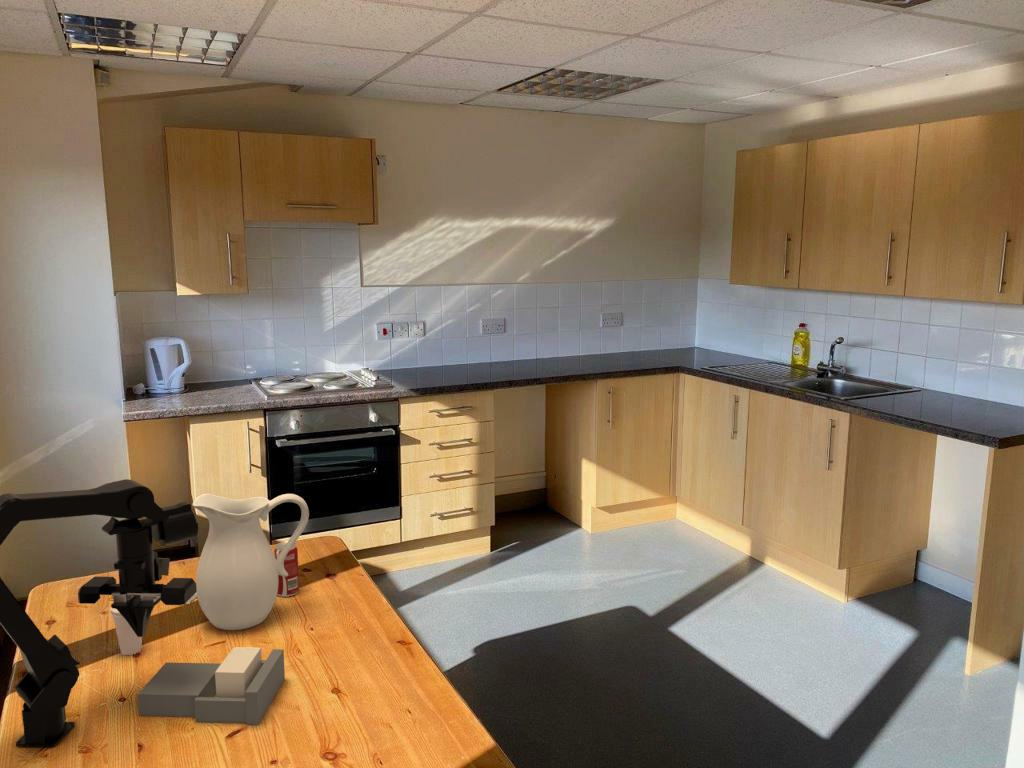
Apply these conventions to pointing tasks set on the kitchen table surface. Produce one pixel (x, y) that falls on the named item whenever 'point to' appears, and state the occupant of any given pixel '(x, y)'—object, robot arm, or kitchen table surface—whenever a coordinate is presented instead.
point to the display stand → (210, 692)
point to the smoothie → (126, 634)
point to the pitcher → (240, 560)
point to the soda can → (288, 571)
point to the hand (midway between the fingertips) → (141, 635)
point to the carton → (237, 672)
